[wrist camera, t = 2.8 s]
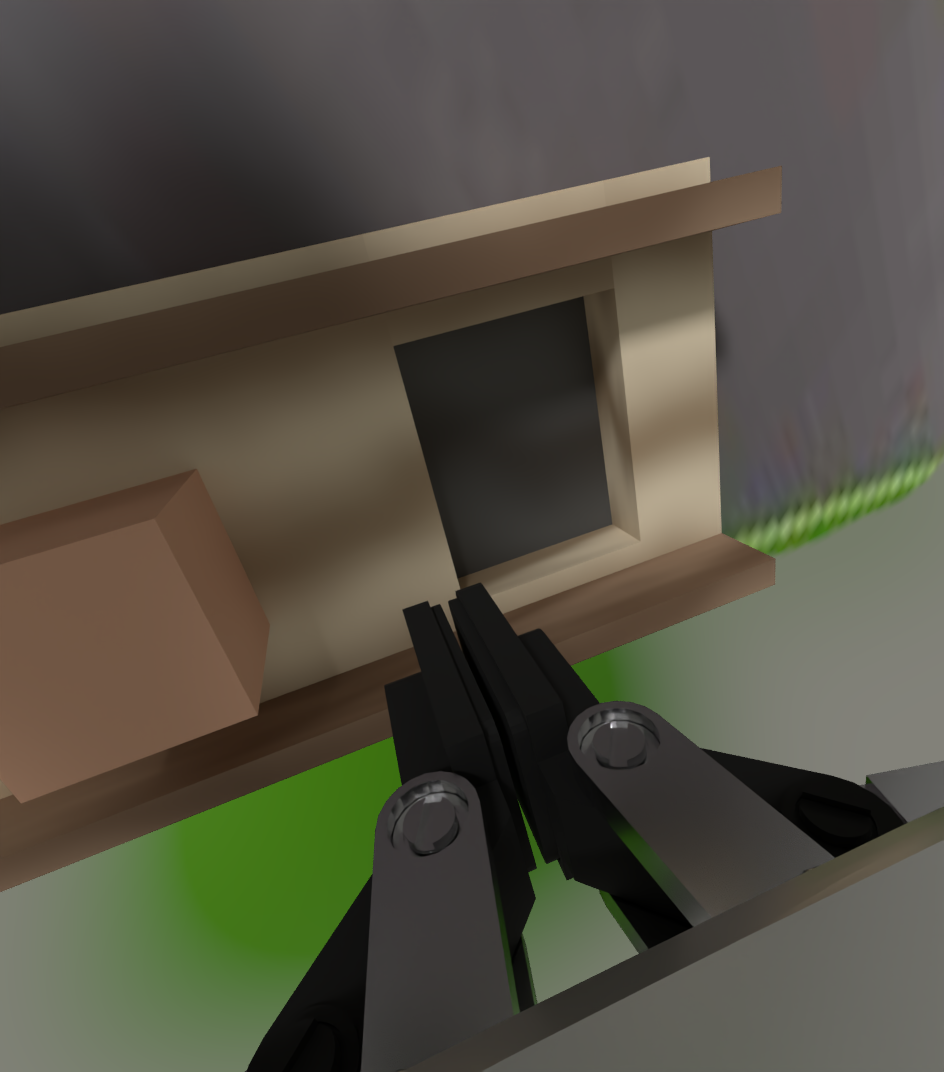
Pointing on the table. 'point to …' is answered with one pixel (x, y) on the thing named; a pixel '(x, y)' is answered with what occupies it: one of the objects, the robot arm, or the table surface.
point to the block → (121, 633)
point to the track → (396, 456)
